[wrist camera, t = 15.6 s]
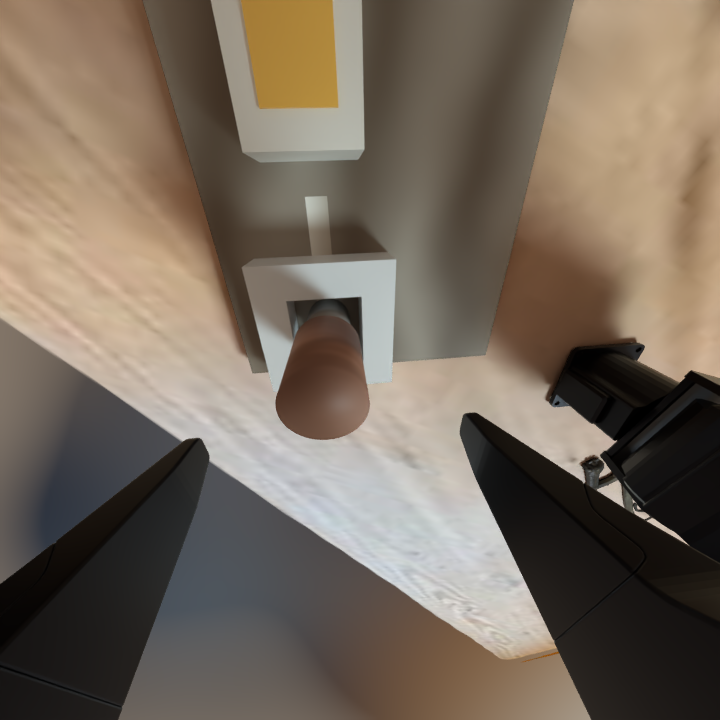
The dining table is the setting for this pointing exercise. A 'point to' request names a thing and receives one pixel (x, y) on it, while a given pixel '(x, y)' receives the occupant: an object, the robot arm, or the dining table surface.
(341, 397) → the brown wooden peg
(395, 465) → the dining table surface
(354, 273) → the pilot socket
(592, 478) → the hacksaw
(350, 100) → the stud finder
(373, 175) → the board
